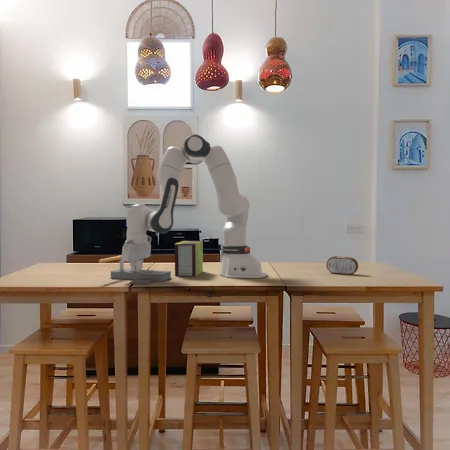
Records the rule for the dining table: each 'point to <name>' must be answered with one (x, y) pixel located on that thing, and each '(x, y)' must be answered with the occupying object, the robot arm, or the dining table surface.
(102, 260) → the clip
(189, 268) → the protein box
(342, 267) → the tin
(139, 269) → the plug
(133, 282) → the mat
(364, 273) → the dining table surface
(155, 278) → the grey base with peg
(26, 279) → the dining table surface
